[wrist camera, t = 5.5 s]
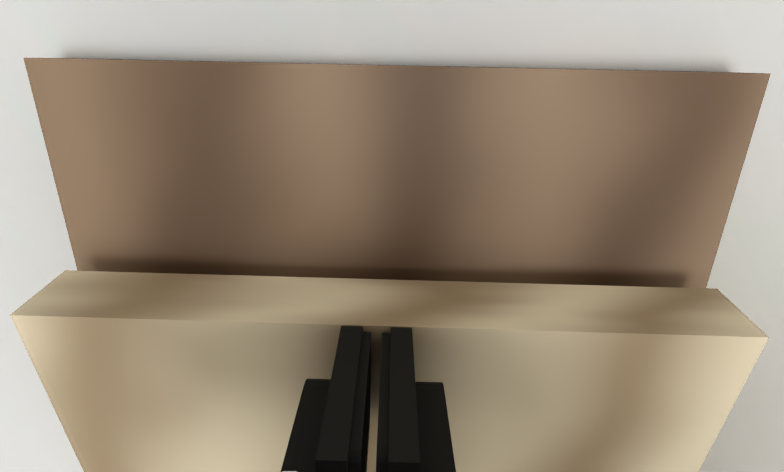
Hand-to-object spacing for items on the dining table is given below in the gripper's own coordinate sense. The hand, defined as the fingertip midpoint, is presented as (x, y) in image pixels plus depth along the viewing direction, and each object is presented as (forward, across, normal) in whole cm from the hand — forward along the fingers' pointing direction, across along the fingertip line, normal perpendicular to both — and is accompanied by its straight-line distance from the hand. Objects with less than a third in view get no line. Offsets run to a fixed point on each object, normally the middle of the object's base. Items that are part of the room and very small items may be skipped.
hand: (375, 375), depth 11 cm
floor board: (+4, 0, +3) cm, 5 cm away
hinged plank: (+2, 0, +2) cm, 3 cm away
